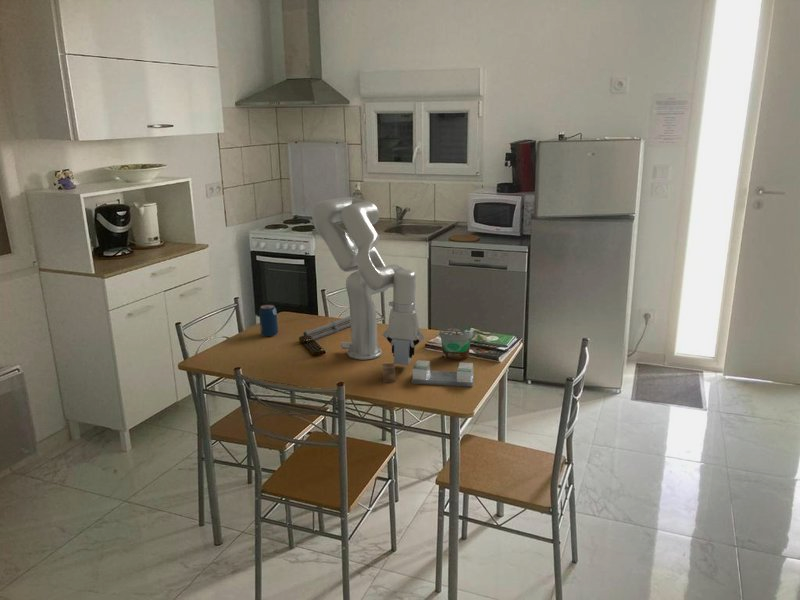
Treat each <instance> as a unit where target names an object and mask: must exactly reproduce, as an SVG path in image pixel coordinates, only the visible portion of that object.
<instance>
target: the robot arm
mask: <svg viewBox="0 0 800 600" xmlns="http://www.w3.org/2000/svg"><path fill="white" fill-rule="evenodd" d="M311 219H312V222H313V225H314V229H315V230H316V231H317V234H318V235H319V236H320V238H322V240H323V241H324V243H325V244H326V247H328V250H329V251H330V253H331V255H332V256H333V259H334V260H335V262H336V263H337V265H338V267H339V269H340V270H342V271H343V272H350V274H349V275H348V276H347V277H346V281H345V288H346V293H347V297H348V302H349V303H348V304H349V315H350V321H349V322H351V326H350V337H351V339H350V341H340V347H341V349H344V350H345V349H346V350H347V349H348V350H347V355H348V357H349V358H351V359H354V360H361V361H363V360H365V361H366V360H372V359H375V358H379V357H380V356H381V355H382V354H383V351H382V349H381V347H379V346H378V327H377V325H378V321H377V320H378V319H377V306H376V304H375V302H374V300H373V298H372V296H373V295H375V294H376V295H377V294H381V293H382V292H386V291H388V290H389V289H391V288H393V289H392V291H393V292H392V297H393V298H392V301H389V302H388V306H390V307H392V308H391V309H390V311H389V317H388V326H387V328H386V329H385V330H384V331H383V333H382V336H383V338H385V339H386V340H387V342H388V343H390V346H391V354H392V356H393V357H394V339H403V340H410V344H411V345H410V351H409V358H411V359H412V358H413V356H414V355H415V347H416V346H417V345H418V344H419V343H420V342H422V341H424V340H425V338H426V337H425V335H424V334H423V332H422V331H421V330H420V328H419V326H420V325H419V313H418V310H417V309H416V287H417V275H416V272H415V271H413V270H411V269H406V268H404V267H402V266H401V265H398V264H395V263H392V264H388V265H386V264H385V262H384V260H383V258H382V256H381V255H380V254H379V253H380V252H379V251H378V250H377V248H375V247H376V246H377V245H378V244H379V242H380V235H379V234H378V232H377V230H376V228H375V227H374V226H373V225H375V224H376V223H378V222H379V219H380V211H379V209H378V207H377V206H376V205H375V204H374V203H373V202H371V201H368V200H365V199H360V198H357V197H353V196H345V197H344V196H343V197H337V198H336V197H335V198H329V199H324V200H322V201H319V202H317V203H316V204H315V205H314V206H313V208H312V213H311ZM338 222H342V224H343V225H344V227H345V228H346V230H345V229H343V227H341V226H340V225H338V224H337V223H338ZM346 231H347V232H346ZM349 235H350V236H349ZM350 237H351V238H350ZM351 239H352V240H351ZM351 272H352V273H351Z"/></svg>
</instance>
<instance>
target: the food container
mask: <svg viewBox="0 0 800 600" xmlns="http://www.w3.org/2000/svg"><path fill="white" fill-rule="evenodd" d="M473 336H474V333H473V330H472V329H471V330H470V331H459V330H457V331H456V330H455V331H449V332H446V331H445V332H444V331H442V330H441V329H440V331H439V333H438V337H439V338H440V339H441V340H440V341H441V349H442V356H443V358H444V359H445V360H447V361H454V362H455V361H457V362H459V361H465V360H467V359H468V358H469V357H470V351H471V350H470V348H471V341H472V338H473ZM468 356H469V357H468Z"/></svg>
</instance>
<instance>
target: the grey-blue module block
mask: <svg viewBox="0 0 800 600" xmlns="http://www.w3.org/2000/svg"><path fill="white" fill-rule="evenodd" d="M410 345H411V344H410V340H403V339H394V356H393V363H394V365H402V366H409V364H410V362H411V360H412V358H409V351H410Z"/></svg>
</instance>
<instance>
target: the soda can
mask: <svg viewBox="0 0 800 600" xmlns="http://www.w3.org/2000/svg"><path fill="white" fill-rule="evenodd" d="M258 313H259V314H258V315H259V324H260V325H259V327H260V333H261V335H262V336H263V335H264V336H263V337H265V336H272V337H274V336H273V335H275V336H277V335H276V334H278V333H279V326H278V325H279V324H278V311H277V308H276V307H275V304H263V305H261V306H260V308H259V310H258Z"/></svg>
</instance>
